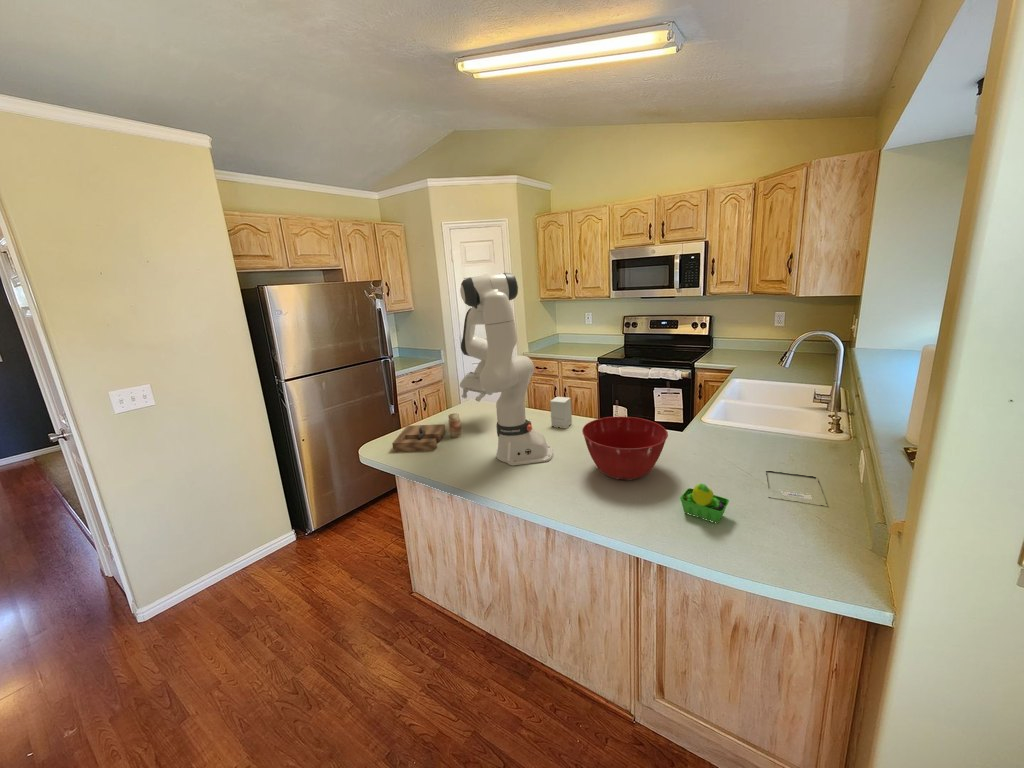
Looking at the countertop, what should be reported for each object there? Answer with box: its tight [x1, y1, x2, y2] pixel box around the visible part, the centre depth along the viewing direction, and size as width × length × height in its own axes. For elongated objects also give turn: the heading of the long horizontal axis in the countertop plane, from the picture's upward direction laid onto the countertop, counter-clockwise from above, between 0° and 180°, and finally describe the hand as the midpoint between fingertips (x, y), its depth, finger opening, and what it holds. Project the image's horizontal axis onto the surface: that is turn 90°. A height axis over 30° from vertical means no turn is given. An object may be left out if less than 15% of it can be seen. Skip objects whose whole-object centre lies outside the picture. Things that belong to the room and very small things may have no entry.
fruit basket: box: [679, 483, 730, 524], centre depth 118 cm, size 11×9×11 cm
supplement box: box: [549, 396, 573, 429], centre depth 193 cm, size 7×7×13 cm
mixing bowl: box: [581, 416, 669, 480], centre depth 146 cm, size 28×28×15 cm
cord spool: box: [447, 412, 462, 439], centre depth 190 cm, size 5×5×10 cm
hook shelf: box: [391, 423, 446, 453], centre depth 186 cm, size 18×20×8 cm
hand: (470, 399), depth 194 cm, fingers open, 8 cm apart
